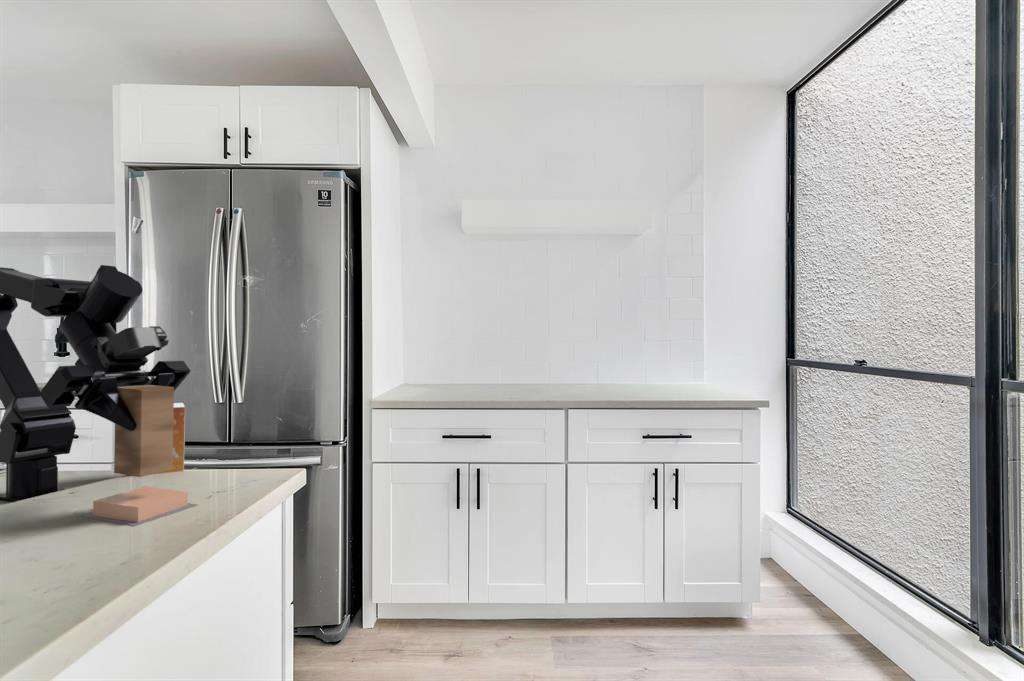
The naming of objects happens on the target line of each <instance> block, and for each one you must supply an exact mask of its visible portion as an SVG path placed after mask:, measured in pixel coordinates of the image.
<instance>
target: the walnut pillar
mask: <svg viewBox="0 0 1024 681" xmlns="http://www.w3.org/2000/svg"><path fill="white" fill-rule="evenodd" d="M117 390H118V394H119V396H120V397H121V399H122V400H123V402H124V404H125V405H126V407H127V408H128V410H129V412H130V413H131V415H132V416H133V418H134V421H135V423H136V425H137V426H136V428H135V429H134V430H133V431H129V430H127V429H125V428H123V427H121V426H119V425H117V424H115V423H114V458H113V459H114V460H113V461H114V462H113V463H114V465H113V466H114V467H113V474H117V475H124V476H125V475H126V476H130V477H137V478H141V477H142V478H143V477H146V476H150V475H156V474H155V473H158V474H160V473H159V472H163V471H167V470H171V469H173V412H174V403H175V401H174V400H175V398H174V397H175V395H174V394H175V391H174V387H169V386H157V385H141V386H130V387H119V388H117Z"/></svg>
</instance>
